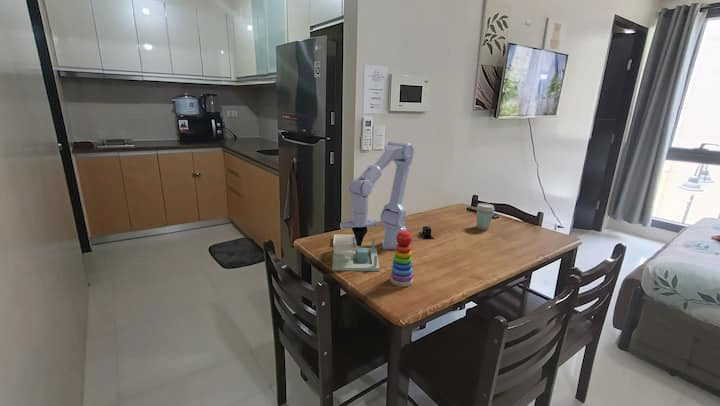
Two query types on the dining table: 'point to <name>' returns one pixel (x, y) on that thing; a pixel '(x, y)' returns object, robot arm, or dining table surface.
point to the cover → (345, 245)
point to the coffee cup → (484, 215)
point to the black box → (426, 233)
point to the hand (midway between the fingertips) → (358, 245)
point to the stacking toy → (402, 261)
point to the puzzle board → (351, 262)
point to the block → (362, 254)
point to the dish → (340, 235)
